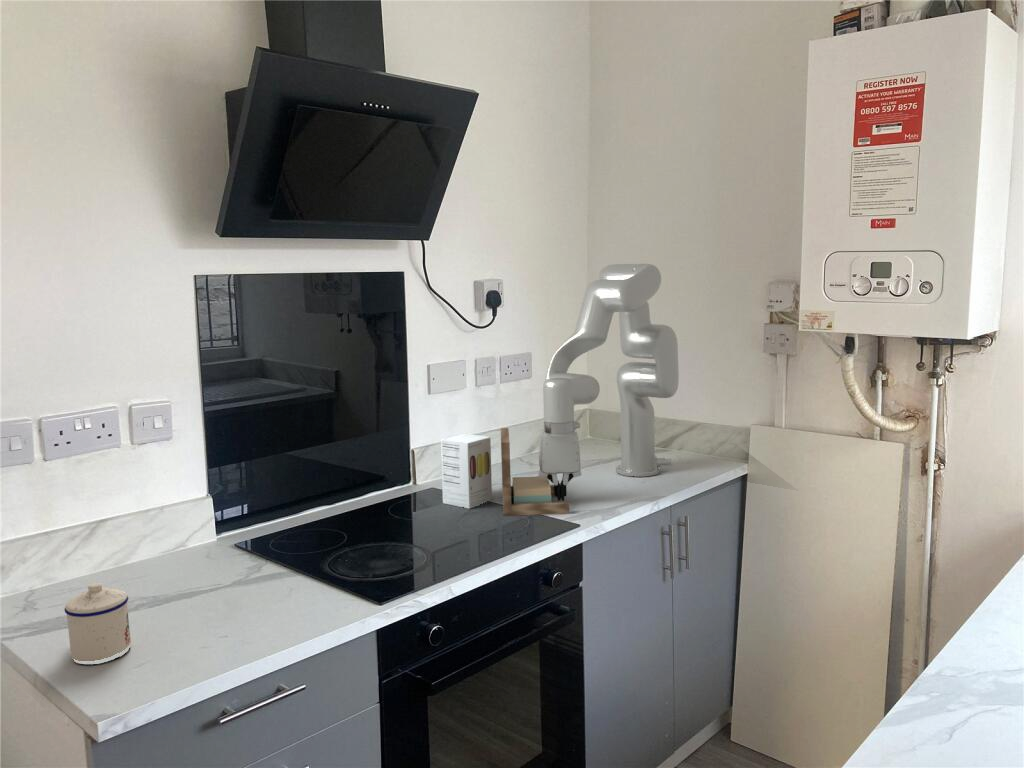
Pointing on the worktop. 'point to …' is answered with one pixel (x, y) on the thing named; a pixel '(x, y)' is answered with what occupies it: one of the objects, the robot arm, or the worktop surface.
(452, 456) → the supplement box
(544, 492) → the carton
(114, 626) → the teacup with lid
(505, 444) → the display stand
